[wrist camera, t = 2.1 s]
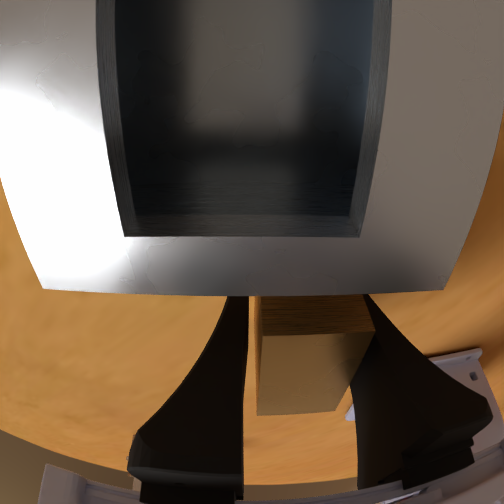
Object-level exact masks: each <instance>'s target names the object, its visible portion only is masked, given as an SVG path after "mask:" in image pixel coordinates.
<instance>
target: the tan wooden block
mask: <svg viewBox="0 0 504 504" xmlns="http://www.w3.org/2000/svg"><path fill="white" fill-rule="evenodd" d="M254 333H255V368H256V403H257V416H262V415H289V414H306V413H318V412H329V411H335V410H336V408H337V406H338V404H339V402H340V401H341V399H342V397H343V395H344V393H345V392H346V390H347V388H348V386H349V384H350V382H351V380H352V378H353V377H354V375H355V373H356V371H357V369H358V367H359V365H360V363H361V361H362V359H363V357H364V355H365V353H366V350H367V348H368V346H369V344H370V342H371V340H372V338H373V336H374V333H375V328H374V325H373V322H372V319H371V317H370V314H369V311H368V308H367V306H366V303H365V300H364V298H363V295H362V294H350V295H312V296H255V307H254Z"/></svg>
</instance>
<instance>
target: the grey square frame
mask: <svg viewBox="0 0 504 504" xmlns="http://www.w3.org/2000/svg"><path fill="white" fill-rule="evenodd" d="M503 109H504V0H0V176H1V180H2V183H3V187H4V190H5V193H6V197H7V200H8V203H9V206H10V209H11V212H12V215H13V218H14V220H15V223H16V226H17V229H18V231H19V234H20V237H21V239H22V242H23V244H24V247H25V249H26V251H27V254H28V256H29V258H30V261H31V263H32V265H33V268H34V270H35V272H36V274H37V276H38V279H39V281H40V283H41V285H42V287H43V289H56V290H71V291H87V292H106V293H127V294H154V295H191V296H312V295H350V294H376V293H397V292H416V291H432V290H444V287H445V285H446V283H447V281H448V279H449V277H450V275H451V273H452V271H453V268H454V266H455V264H456V262H457V259H458V257H459V255H460V252H461V250H462V248H463V245H464V243H465V240H466V238H467V235H468V233H469V230H470V228H471V225H472V222H473V220H474V217H475V214H476V211H477V208H478V206H479V203H480V200H481V197H482V194H483V190H484V187H485V184H486V181H487V177H488V174H489V170H490V167H491V163H492V159H493V156H494V152H495V148H496V143H497V139H498V135H499V130H500V125H501V120H502V115H503Z"/></svg>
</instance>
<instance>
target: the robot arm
mask: <svg viewBox="0 0 504 504" xmlns="http://www.w3.org/2000/svg"><path fill="white" fill-rule="evenodd" d="M362 295H363V298H364V300H365V303H366V306H367V308H368V311H369V314H370V317H371V319H372V322H373V325H374V328H375V333H374V336H373V338H372V340H371V342H370V344H369V346H368V348H367V350H366V353H365V355H364V357H363V359H362V361H361V363H360V365H359V367H358V369H357V371H356V373H355V375H354V377H353V378H352V380H351V382H350V384H349V385H350V389H351V393H352V398H353V404H352V406H351V408H350V409H349V411H348V412H347V414H346V415H345V418H346V420H347V421H351V420H355V423H356V434H357V454H358V480H357V487H358V490H356V491H351V492H345V493H339V494H333V495H326V496H318V497H310V498H300V499H289V500H288V499H287V500H270V501H236V500H243V493H244V466H243V398H244V386H245V376H246V365H247V355H248V328H249V296H227V299H226V302H225V305H224V308H223V311H222V313H221V316H220V318H219V320H218V322H217V325H216V327H215V329H214V331H213V333H212V335H211V337H210V339H209V341H208V343H207V344H206V346H205V348H204V350H203V352H202V353H201V355H200V357H199V358H198V360H197V361H196V363H195V364H194V366H193V367H192V369H191V370H190V372H189V373H188V375H187V376H186V377H185V379H184V380H183V381H182V383H181V384H180V385H179V387H178V388H177V389H176V390H175V392H174V393H173V394H172V395H171V396H170V397H169V399H168V400H167V401H166V402H165V403H164V404H163V406H162V407H161V408H160V409H159V410H158V411H157V412H156V413H155V414H154V415H153V416H152V417H151V418H150V419H149V420H148V421H147V422H146V423H145V424H144V425H143V426H142V427H141V428H140V429H139V430H138V431H137V433H136V435H135V437H134V440H133V442H132V445H131V449H130V452H129V458H128V465H127V471H128V472H129V473H130V474H131V475H132V476H134V477H135V478H137V479H138V480H140V481H141V490H140V491H134V490H129V489H124V488H120V487H115V486H111V485H107V484H103V483H99V482H95V481H92V480H88V479H86V478H84V477H83V476H81V475H79V474H77V473H75V472H71V471H69V470H66V469H63V468H60V467H57V466H54V465H51V464H48V463H47V464H46V466H45V470H44V474H43V479H42V484H41V489H40V494H39V500H38V504H375V503H379V502H380V504H395V503H396V504H504V423H503V419H502V415H501V413H500V410H499V407H498V405H497V402H496V400H495V397H494V395H493V392H492V390H491V388H490V385H489V383H488V381H487V378H486V376H485V374H484V372H483V370H482V367H481V365H480V363H479V361H478V359H479V357H480V356H481V355H482V353H483V351H482V349H481V348H476V349H472V350H467V351H463V352H458V353H453V354H448V355H443V356H438V357H432V358H427V357H426V356H424V355H423V354H422V353H421V352H420V351H419V350H418V349H417V348H416V347H415V346H414V345H413V344H411V343H410V342H409V340H408V339H407V338H406V337H405V336H404V335H403V334H402V333H401V332H400V331H399V330H398V329H397V328H396V327H395V326H394V324H393V323H392V322H391V321H390V320H389V319H388V318H387V316H386V315H385V314H384V313H383V312H382V311H381V309H380V308H379V307H378V306H377V304H376V303H375V302H374V301H373V300H372V298H371V297H370V296H369V295H368V294H362Z"/></svg>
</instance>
